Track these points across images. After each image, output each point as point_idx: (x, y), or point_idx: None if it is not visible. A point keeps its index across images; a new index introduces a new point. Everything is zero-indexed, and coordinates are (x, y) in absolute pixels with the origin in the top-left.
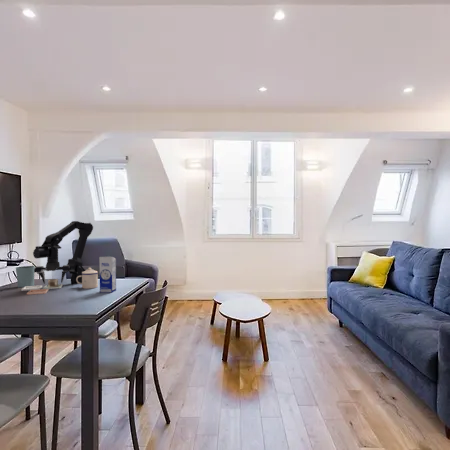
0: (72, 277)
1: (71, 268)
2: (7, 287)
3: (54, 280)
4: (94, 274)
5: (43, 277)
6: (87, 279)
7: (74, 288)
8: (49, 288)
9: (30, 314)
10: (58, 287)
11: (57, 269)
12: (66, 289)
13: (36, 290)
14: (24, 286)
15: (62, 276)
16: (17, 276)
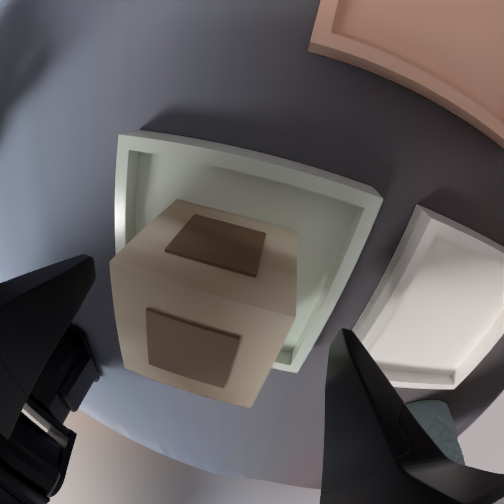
0: (55, 381)
1: (2, 436)
2: (466, 423)
3: (153, 273)
4: None
5: (383, 419)
6: None
7: (27, 124)
8: (285, 163)
9: None
10: (146, 136)
11: (3, 487)
12: (81, 90)
13: (474, 104)
14: (435, 407)
15: (1, 296)
16: None
